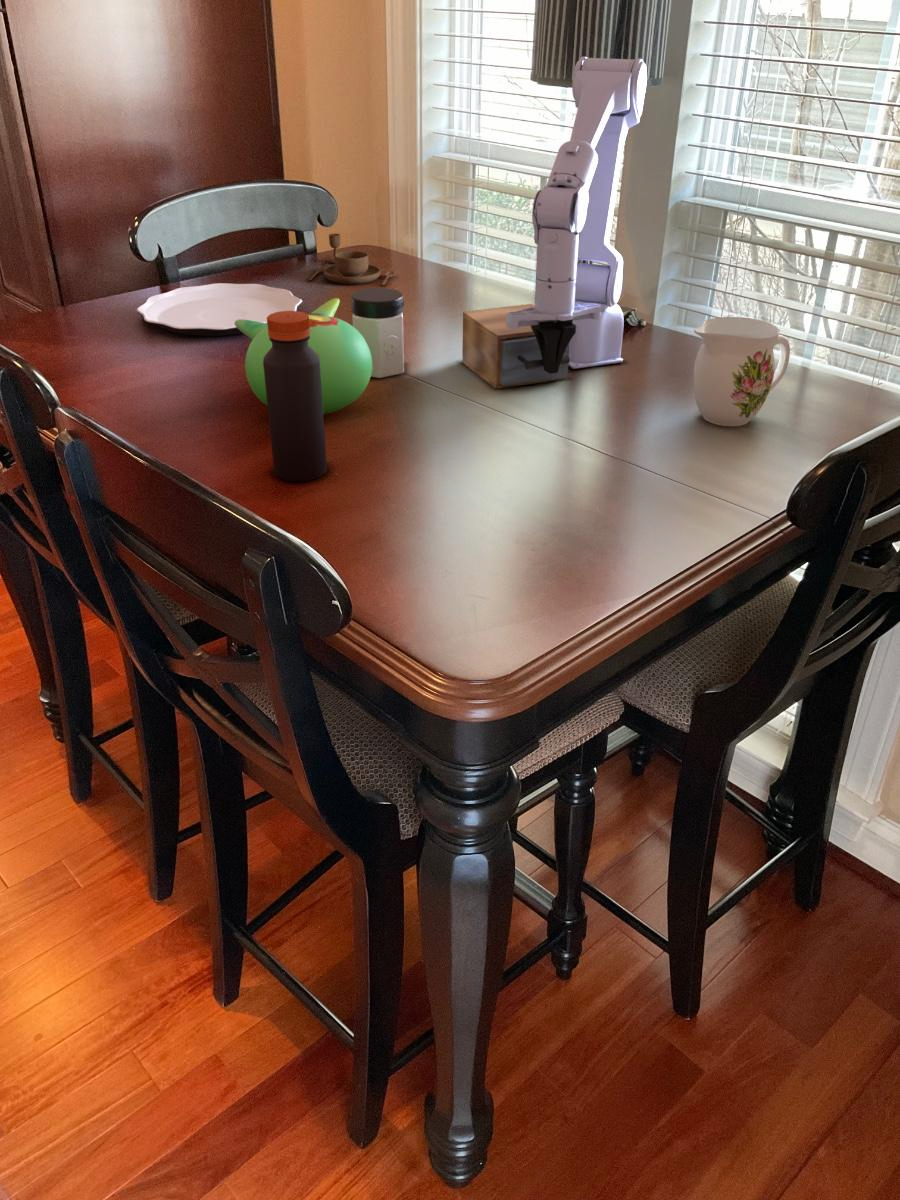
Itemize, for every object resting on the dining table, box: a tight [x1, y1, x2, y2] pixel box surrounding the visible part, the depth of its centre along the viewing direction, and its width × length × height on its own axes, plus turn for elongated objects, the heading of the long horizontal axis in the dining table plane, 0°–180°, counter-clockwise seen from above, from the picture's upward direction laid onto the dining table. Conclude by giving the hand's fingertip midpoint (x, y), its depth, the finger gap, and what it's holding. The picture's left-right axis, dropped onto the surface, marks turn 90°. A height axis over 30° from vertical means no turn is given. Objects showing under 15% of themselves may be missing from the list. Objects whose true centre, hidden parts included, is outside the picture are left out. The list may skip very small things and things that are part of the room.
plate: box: [136, 282, 303, 337], centre depth 182 cm, size 29×29×2 cm
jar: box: [350, 287, 405, 379], centre depth 155 cm, size 9×8×12 cm
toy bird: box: [234, 297, 372, 416], centre depth 140 cm, size 18×17×15 cm
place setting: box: [308, 233, 395, 286], centre depth 208 cm, size 18×20×6 cm
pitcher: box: [692, 316, 791, 427], centre depth 139 cm, size 11×18×14 cm, turn 117°
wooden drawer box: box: [461, 303, 568, 390], centre depth 156 cm, size 13×12×8 cm
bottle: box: [263, 310, 328, 483], centre depth 120 cm, size 7×7×20 cm
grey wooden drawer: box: [500, 337, 570, 386], centre depth 153 cm, size 16×11×7 cm
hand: (550, 371), depth 146 cm, fingers closed, pressing on grey wooden drawer
